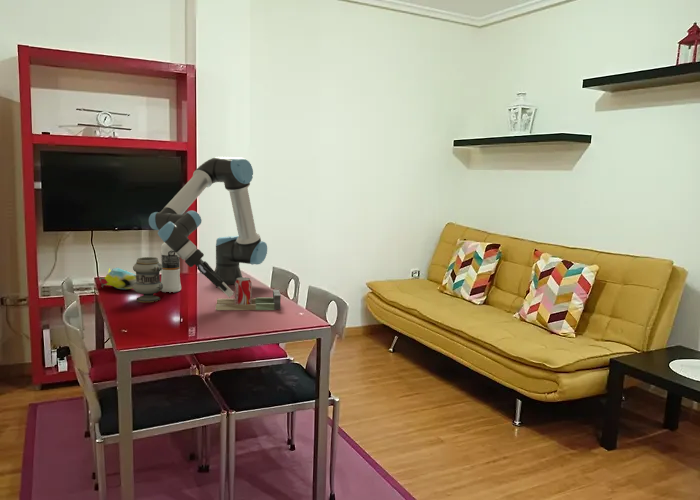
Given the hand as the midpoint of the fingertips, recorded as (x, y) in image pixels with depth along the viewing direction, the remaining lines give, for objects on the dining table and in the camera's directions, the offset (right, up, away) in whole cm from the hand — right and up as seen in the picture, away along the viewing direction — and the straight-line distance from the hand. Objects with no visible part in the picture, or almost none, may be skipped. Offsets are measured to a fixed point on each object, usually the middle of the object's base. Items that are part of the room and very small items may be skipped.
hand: (231, 295), depth 234 cm
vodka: (-34, 0, +26) cm, 43 cm away
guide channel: (+6, -5, +3) cm, 8 cm away
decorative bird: (-55, +1, +31) cm, 63 cm away
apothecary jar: (-37, -3, +8) cm, 38 cm away
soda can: (+4, -5, +2) cm, 7 cm away
